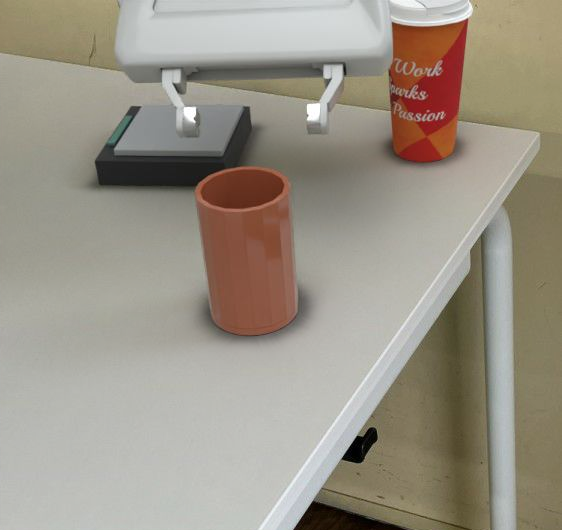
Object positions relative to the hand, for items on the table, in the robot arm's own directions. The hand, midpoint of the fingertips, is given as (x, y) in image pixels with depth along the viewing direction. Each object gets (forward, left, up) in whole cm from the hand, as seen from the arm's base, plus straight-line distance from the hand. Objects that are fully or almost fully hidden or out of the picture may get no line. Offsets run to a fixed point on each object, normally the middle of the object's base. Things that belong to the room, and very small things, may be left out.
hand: (252, 133), depth 73 cm
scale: (-12, +18, -11) cm, 24 cm away
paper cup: (+11, +20, -11) cm, 26 cm away
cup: (0, -7, -11) cm, 13 cm away
